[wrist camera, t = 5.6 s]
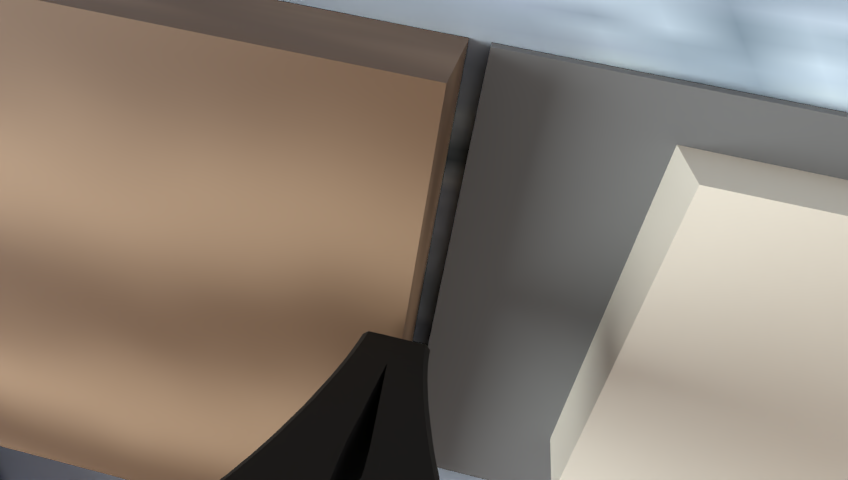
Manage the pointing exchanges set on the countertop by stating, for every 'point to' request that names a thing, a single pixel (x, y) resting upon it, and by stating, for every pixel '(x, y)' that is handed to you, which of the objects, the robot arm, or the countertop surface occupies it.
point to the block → (720, 334)
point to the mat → (569, 233)
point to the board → (204, 218)
